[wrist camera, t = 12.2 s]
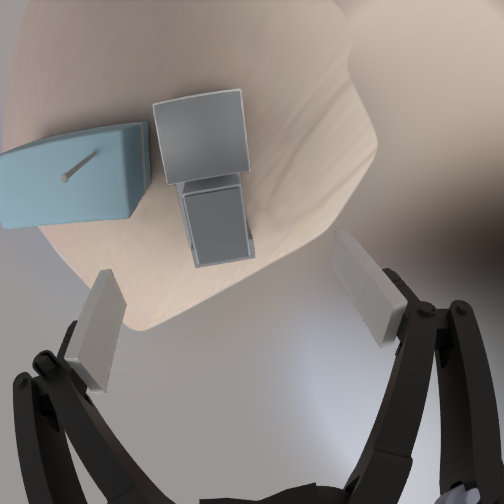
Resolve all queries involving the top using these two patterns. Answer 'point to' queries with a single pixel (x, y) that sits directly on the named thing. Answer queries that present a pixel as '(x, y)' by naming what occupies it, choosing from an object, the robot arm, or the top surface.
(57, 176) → the radio
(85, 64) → the top surface
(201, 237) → the block
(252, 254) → the block
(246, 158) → the block
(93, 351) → the robot arm
